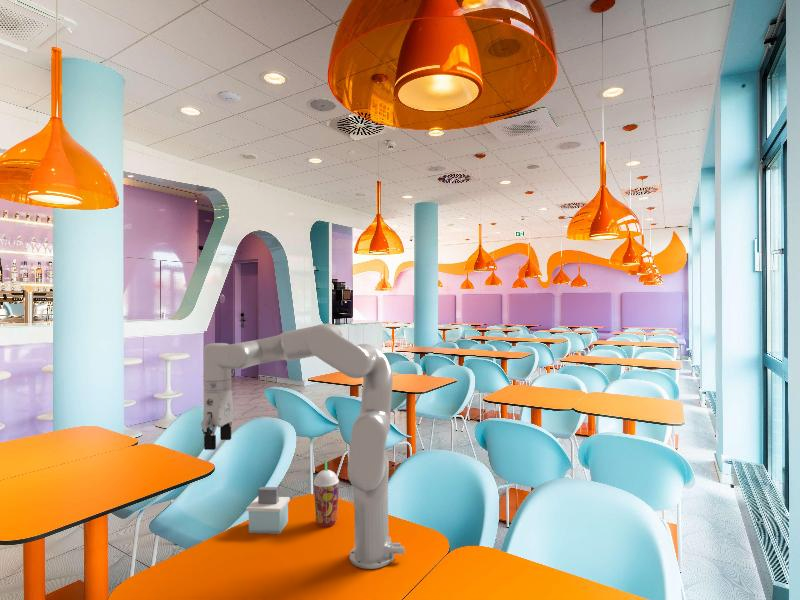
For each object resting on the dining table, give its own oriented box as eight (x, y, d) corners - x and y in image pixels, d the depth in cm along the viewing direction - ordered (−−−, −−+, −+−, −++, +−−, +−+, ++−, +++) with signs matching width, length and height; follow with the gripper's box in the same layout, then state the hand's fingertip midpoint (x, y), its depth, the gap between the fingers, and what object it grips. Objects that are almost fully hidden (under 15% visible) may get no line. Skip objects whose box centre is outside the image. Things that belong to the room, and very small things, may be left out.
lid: (289, 502, 156) (289, 483, 156) (280, 514, 147) (280, 494, 147) (257, 501, 157) (257, 482, 157) (246, 513, 148) (246, 493, 148)
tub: (288, 522, 156) (287, 500, 156) (279, 533, 148) (279, 511, 148) (258, 521, 156) (258, 500, 157) (248, 532, 148) (248, 510, 149)
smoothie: (312, 519, 157) (311, 459, 157) (337, 516, 160) (336, 456, 160) (315, 530, 149) (314, 467, 149) (341, 526, 152) (340, 464, 152)
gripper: (216, 390, 129) (216, 453, 129) (242, 381, 146) (243, 436, 146) (189, 390, 129) (190, 453, 129) (219, 381, 147) (219, 436, 146)
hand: (218, 444), depth 138 cm, fingers open, 9 cm apart
